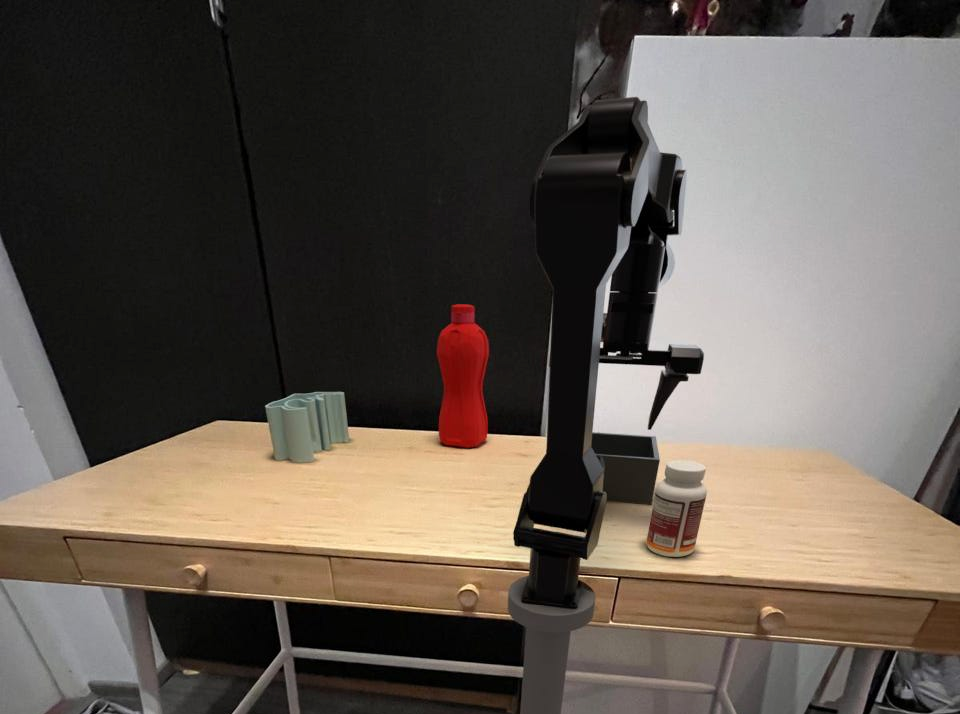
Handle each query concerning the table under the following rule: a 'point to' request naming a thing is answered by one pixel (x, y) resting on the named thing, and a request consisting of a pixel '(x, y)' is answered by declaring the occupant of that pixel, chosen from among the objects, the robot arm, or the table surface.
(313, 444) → the squiggly pen holder
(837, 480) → the table surface
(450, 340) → the water bottle
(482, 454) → the table surface
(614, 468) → the waste bin
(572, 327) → the robot arm
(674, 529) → the pill bottle
